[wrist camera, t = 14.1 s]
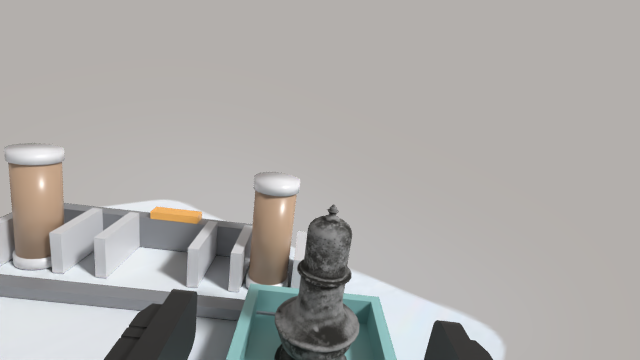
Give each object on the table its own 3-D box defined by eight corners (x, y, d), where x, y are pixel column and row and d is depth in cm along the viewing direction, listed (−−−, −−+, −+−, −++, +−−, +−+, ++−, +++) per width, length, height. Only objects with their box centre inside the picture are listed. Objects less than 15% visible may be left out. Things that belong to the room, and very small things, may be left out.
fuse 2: (241, 293, 34) (250, 182, 31) (249, 270, 38) (258, 170, 35) (286, 298, 34) (299, 187, 31) (289, 274, 38) (301, 175, 35)
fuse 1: (1, 265, 33) (-10, 148, 30) (38, 246, 37) (31, 141, 34) (45, 272, 33) (39, 156, 30) (77, 252, 37) (74, 148, 34)
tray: (212, 435, 20) (214, 393, 20) (247, 313, 31) (250, 283, 30) (401, 452, 21) (411, 412, 20) (373, 326, 32) (378, 297, 31)
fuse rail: (-56, 290, 29) (-65, 242, 28) (50, 230, 41) (47, 194, 39) (297, 326, 30) (303, 281, 29) (302, 258, 42) (307, 224, 41)
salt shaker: (301, 323, 30) (319, 184, 26) (365, 357, 27) (394, 207, 23) (252, 365, 25) (267, 201, 21) (324, 413, 22) (354, 233, 19)
